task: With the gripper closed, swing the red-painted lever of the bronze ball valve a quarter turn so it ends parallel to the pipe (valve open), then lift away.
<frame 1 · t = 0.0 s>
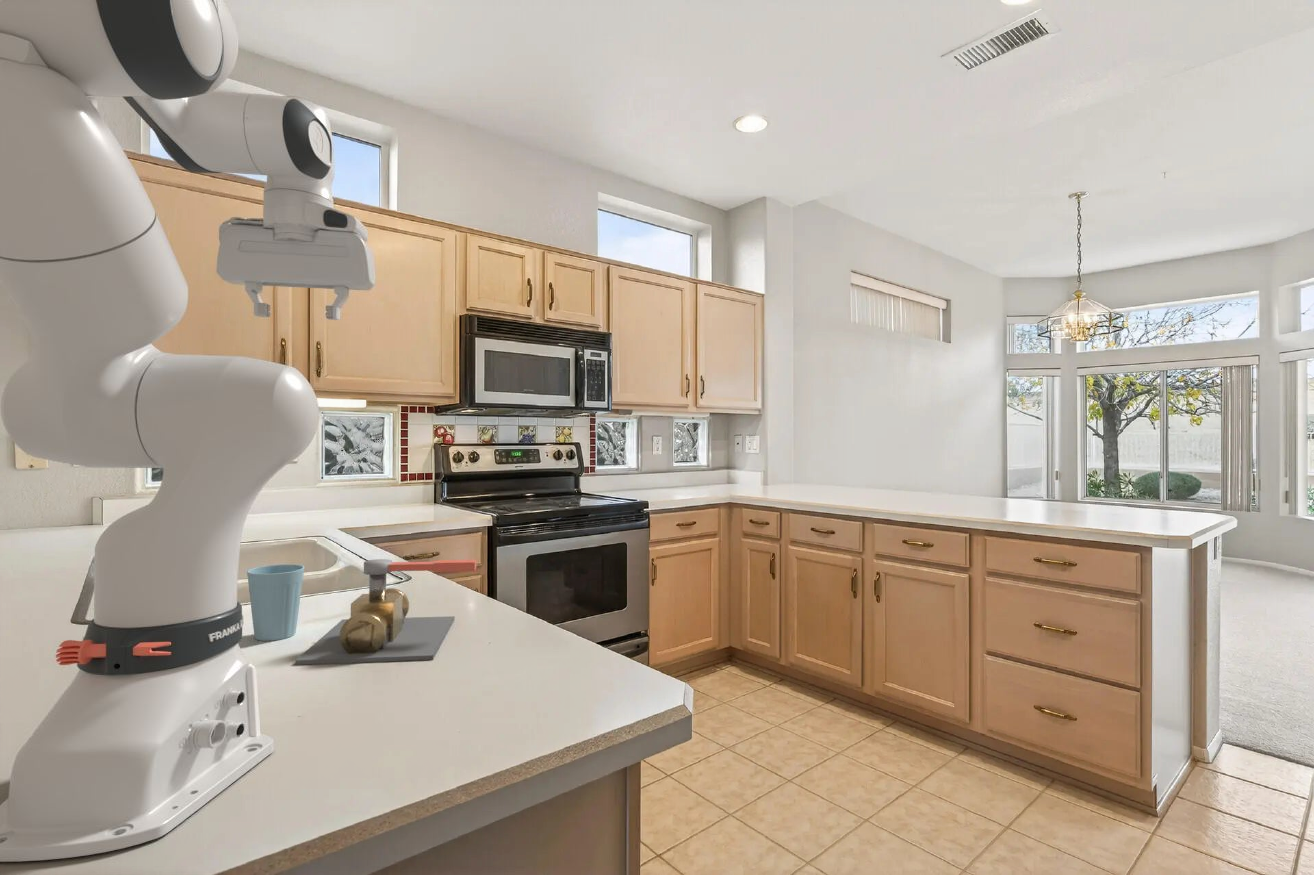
hand: (297, 317, 93), 48 cm above the counter, fingers open, 8 cm apart
cup: (275, 637, 101), on the counter
mat: (383, 639, 100), on the counter
valve body: (377, 640, 100), resting on mat
lever: (420, 566, 101), point 11 cm above the counter, hinge at -90.0°
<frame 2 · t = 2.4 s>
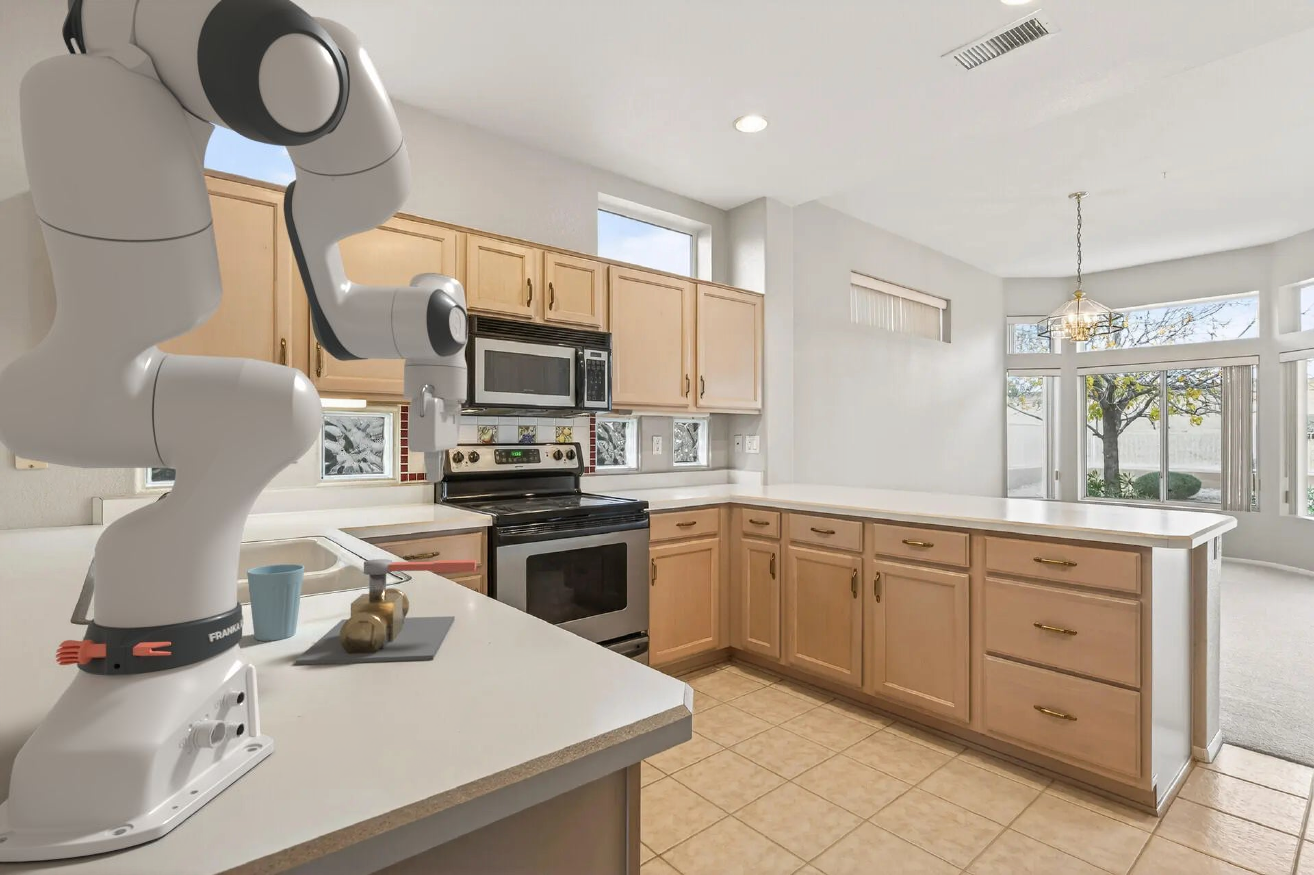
hand: (434, 481, 96), 25 cm above the counter, fingers closed
nothing on the counter moved.
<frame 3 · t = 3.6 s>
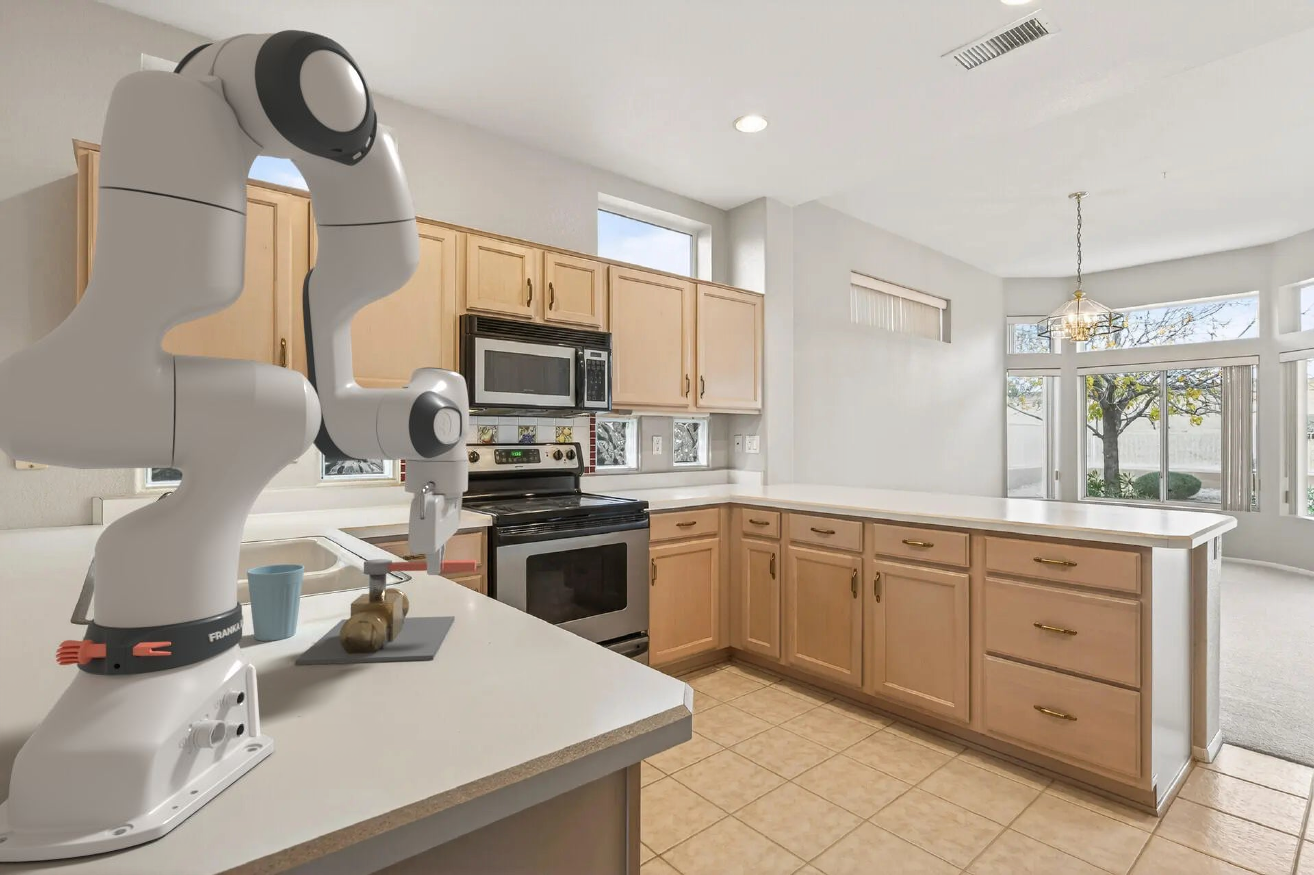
hand: (435, 573, 96), 11 cm above the counter, fingers closed
nothing on the counter moved.
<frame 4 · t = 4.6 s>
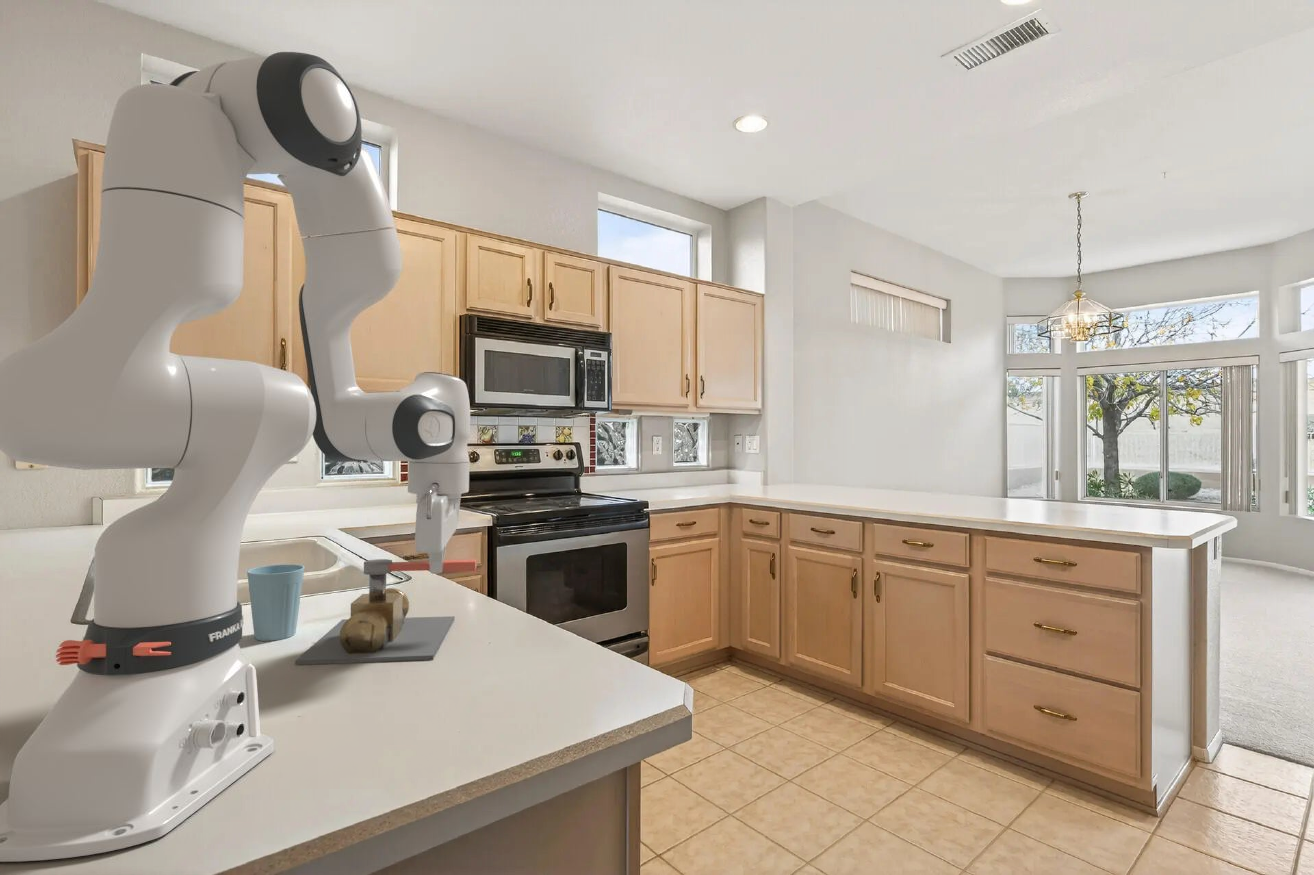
hand: (436, 572, 99), 11 cm above the counter, fingers closed
lever: (420, 566, 101), point 11 cm above the counter, hinge at -88.7°, touching gripper
everything else where it was.
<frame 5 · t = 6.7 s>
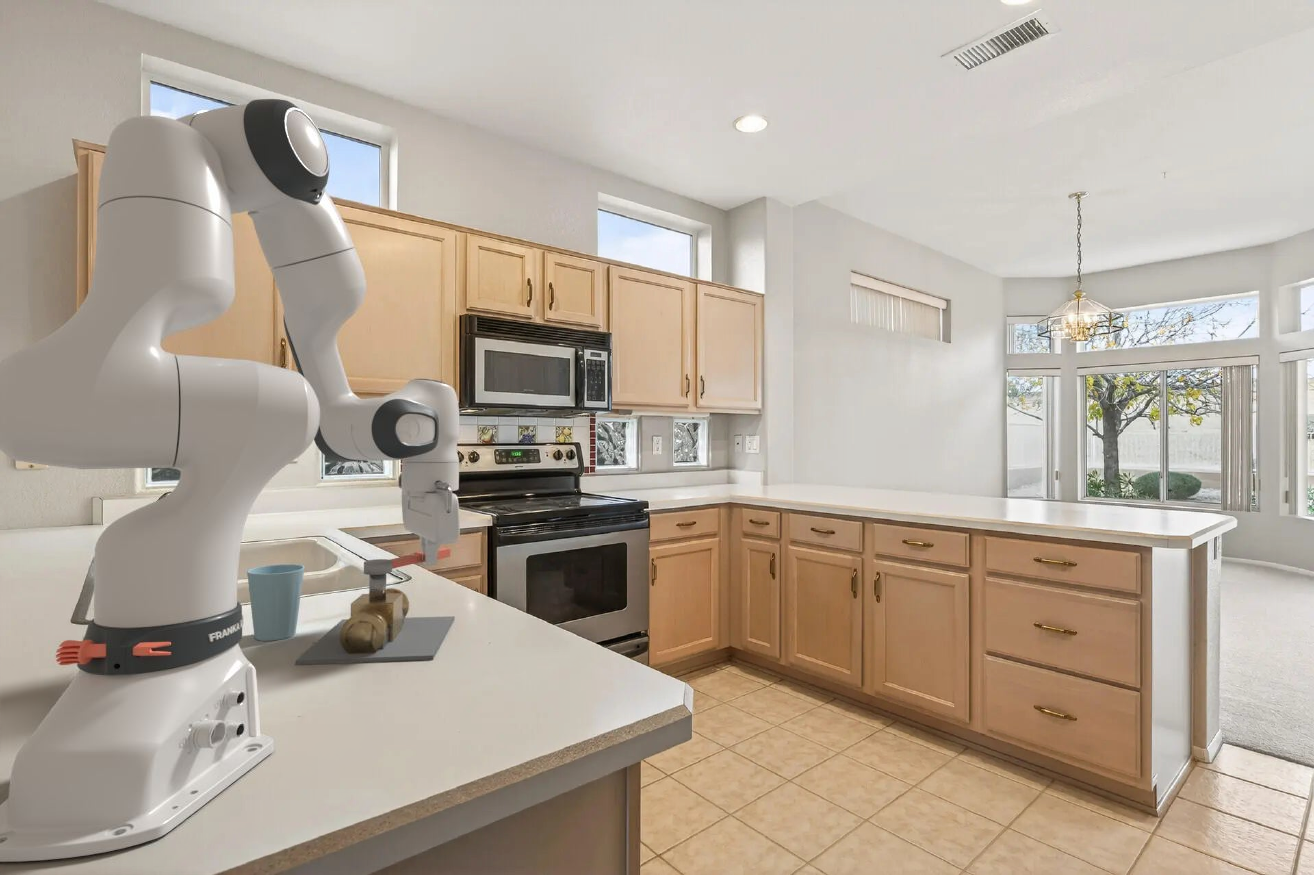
hand: (429, 564, 107), 10 cm above the counter, fingers closed
lever: (408, 560, 106), point 11 cm above the counter, hinge at -33.0°, touching gripper
everything else where it was.
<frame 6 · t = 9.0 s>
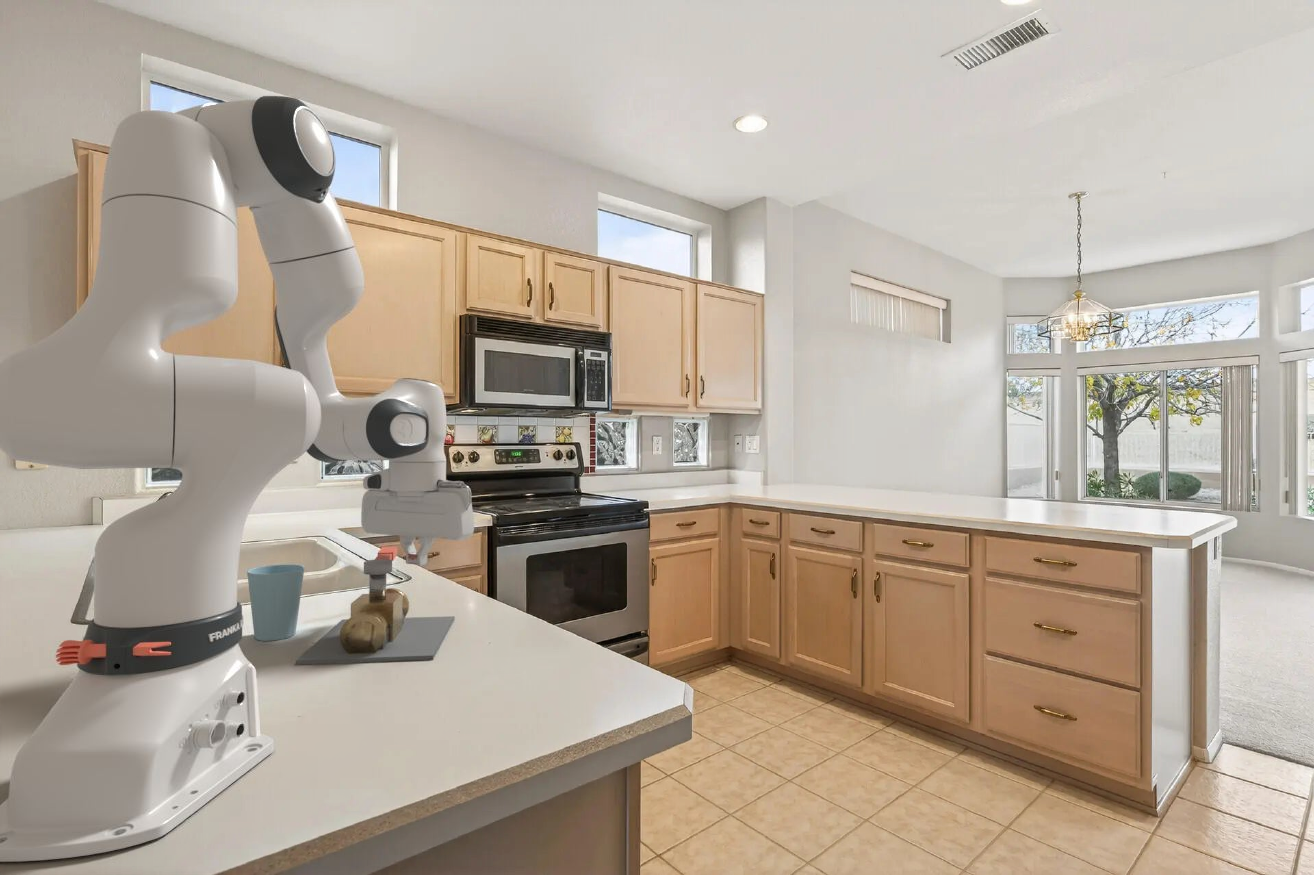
hand: (416, 564, 107), 10 cm above the counter, fingers closed
lever: (383, 559, 106), point 11 cm above the counter, hinge at 6.6°
everything else where it was.
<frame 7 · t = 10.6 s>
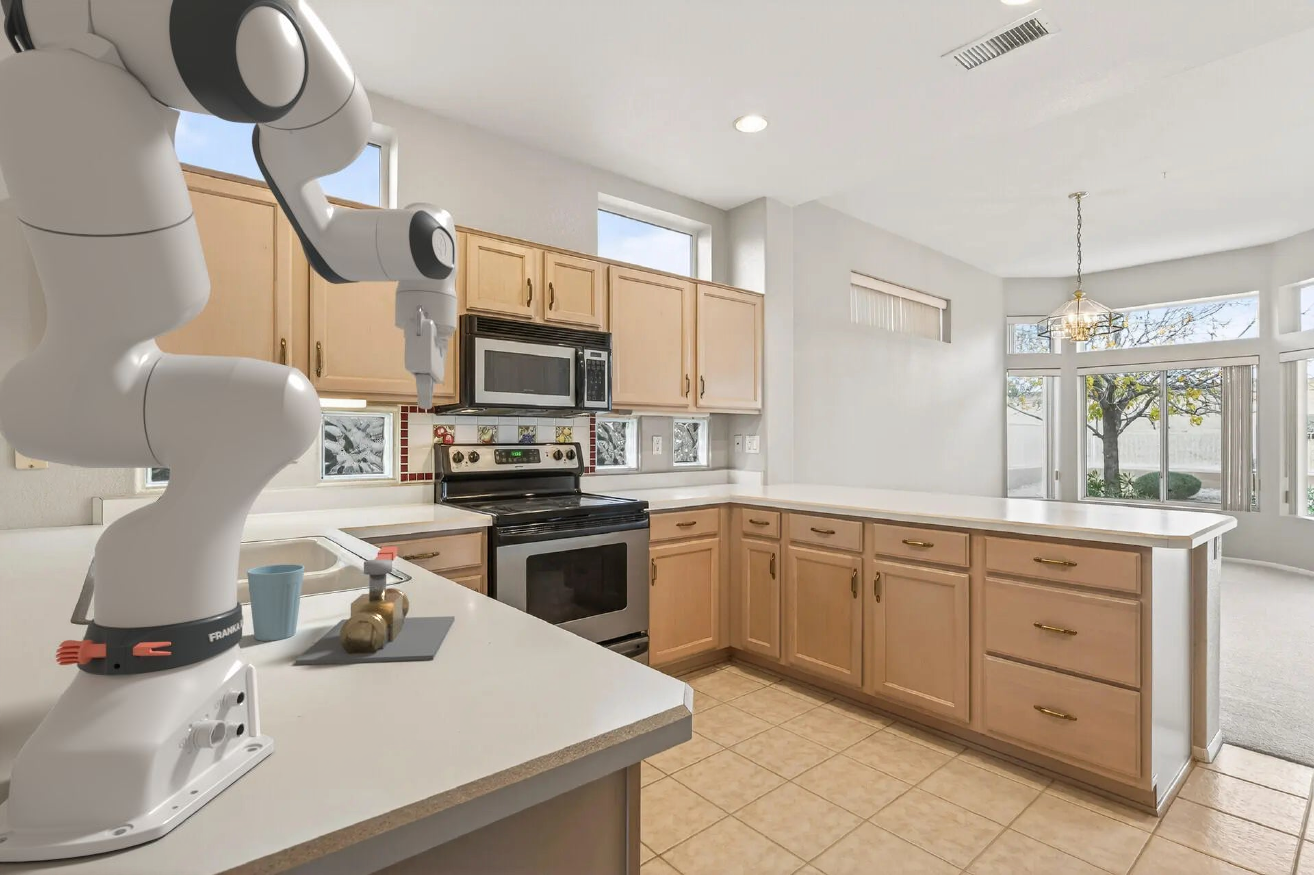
hand: (424, 408, 98), 36 cm above the counter, fingers closed
nothing on the counter moved.
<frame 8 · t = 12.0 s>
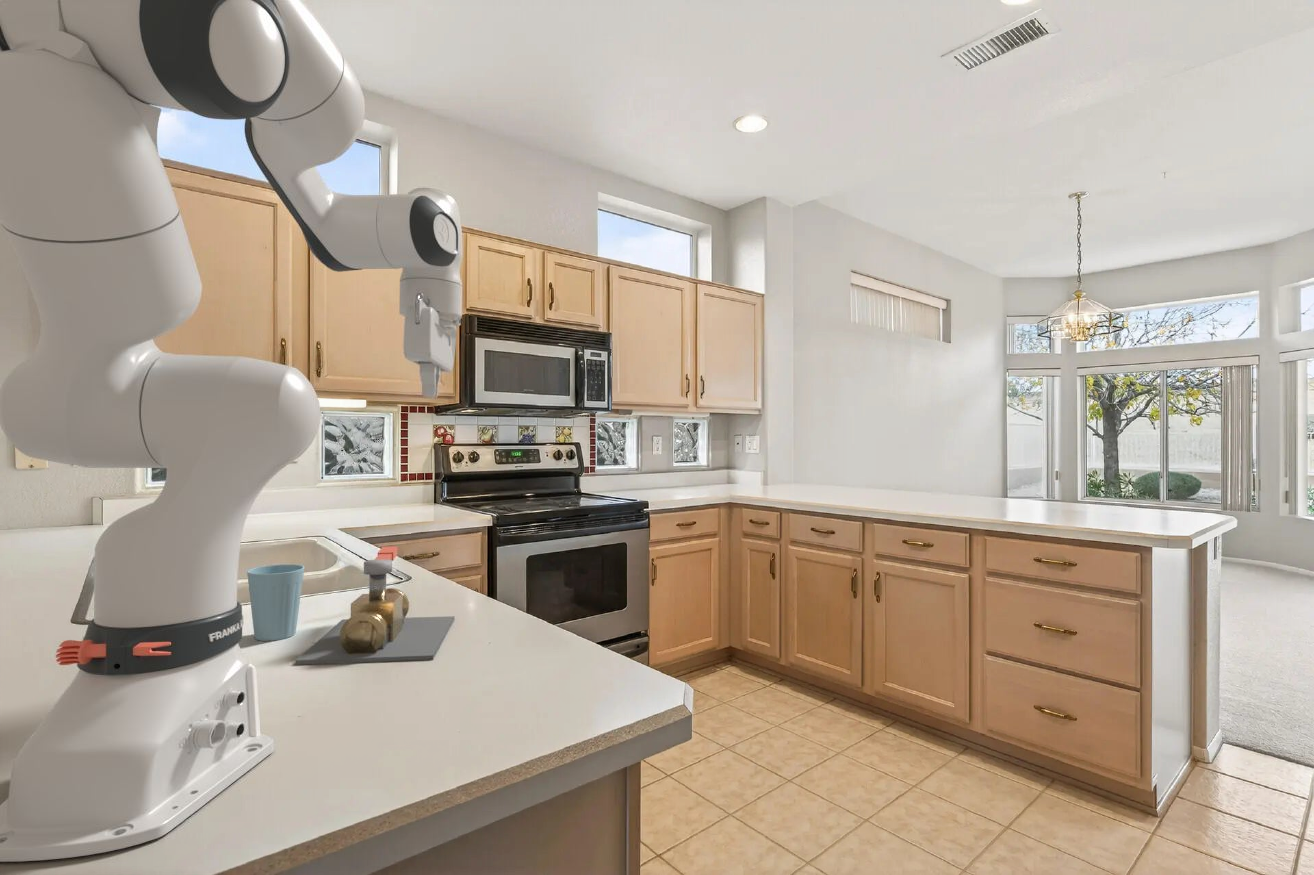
hand: (430, 397, 97), 37 cm above the counter, fingers closed
nothing on the counter moved.
at the end: lever at +7° (first picture: -90°); lever touching nothing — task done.
